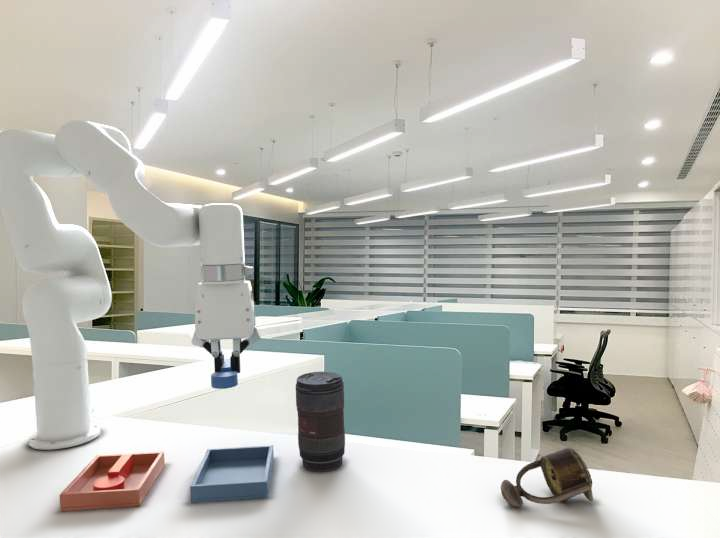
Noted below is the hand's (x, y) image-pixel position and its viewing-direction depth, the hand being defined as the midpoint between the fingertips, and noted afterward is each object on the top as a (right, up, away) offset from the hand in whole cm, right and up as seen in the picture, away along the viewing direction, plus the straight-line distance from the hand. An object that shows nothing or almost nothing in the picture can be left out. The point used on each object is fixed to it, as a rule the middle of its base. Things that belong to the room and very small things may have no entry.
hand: (227, 376), depth 104 cm
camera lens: (+17, -14, -5) cm, 23 cm away
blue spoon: (0, 0, 0) cm, 1 cm away
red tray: (-15, -15, -12) cm, 24 cm away
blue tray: (+4, -15, -10) cm, 18 cm away
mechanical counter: (+50, -14, -19) cm, 56 cm away
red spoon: (-15, -15, -11) cm, 24 cm away
